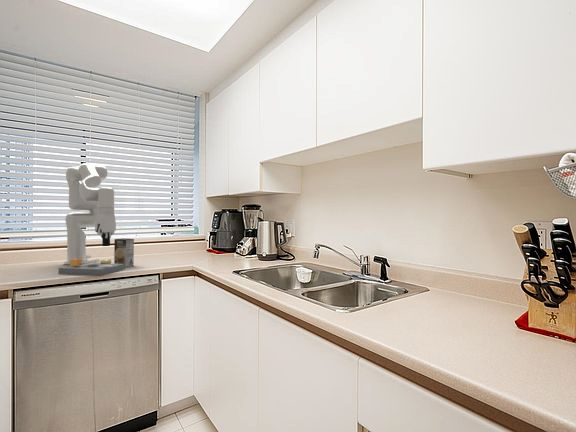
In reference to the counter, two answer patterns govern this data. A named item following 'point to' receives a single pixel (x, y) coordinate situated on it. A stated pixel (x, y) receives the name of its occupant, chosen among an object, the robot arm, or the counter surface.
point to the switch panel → (92, 269)
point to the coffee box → (124, 251)
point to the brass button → (106, 261)
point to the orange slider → (75, 262)
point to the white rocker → (92, 261)
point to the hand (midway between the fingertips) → (106, 245)
